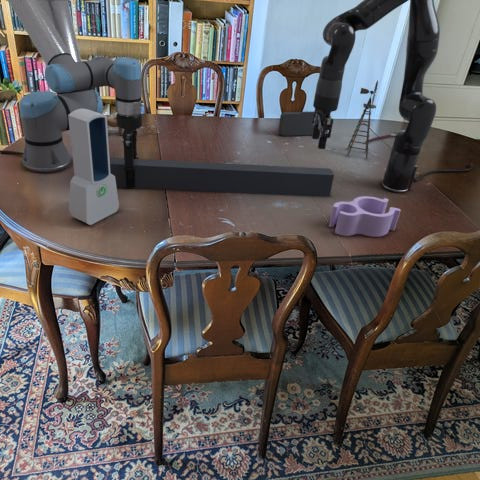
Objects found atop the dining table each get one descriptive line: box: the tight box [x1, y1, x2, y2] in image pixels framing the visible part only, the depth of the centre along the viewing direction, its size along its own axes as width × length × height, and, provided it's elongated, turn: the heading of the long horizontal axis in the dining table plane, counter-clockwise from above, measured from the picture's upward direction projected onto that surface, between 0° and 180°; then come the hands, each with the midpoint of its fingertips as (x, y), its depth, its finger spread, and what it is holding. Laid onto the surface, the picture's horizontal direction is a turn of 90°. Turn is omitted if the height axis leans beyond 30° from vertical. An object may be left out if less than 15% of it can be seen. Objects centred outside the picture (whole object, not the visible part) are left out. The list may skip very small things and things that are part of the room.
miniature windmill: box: [346, 80, 379, 160], centre depth 186 cm, size 9×8×30 cm
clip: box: [328, 195, 401, 238], centre depth 141 cm, size 20×12×7 cm, turn 109°
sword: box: [368, 132, 397, 143], centre depth 214 cm, size 31×3×1 cm, turn 126°
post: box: [109, 157, 335, 198], centre depth 154 cm, size 73×5×8 cm, turn 95°
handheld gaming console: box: [278, 111, 326, 137], centre depth 205 cm, size 23×3×10 cm, turn 108°
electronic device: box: [68, 109, 120, 226], centre depth 127 cm, size 12×8×30 cm, turn 148°
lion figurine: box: [107, 116, 124, 136], centre depth 186 cm, size 15×5×9 cm, turn 110°
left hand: (131, 183), depth 152 cm, fingers closed on post, 5 cm apart
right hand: (318, 143), depth 150 cm, fingers open, 8 cm apart
